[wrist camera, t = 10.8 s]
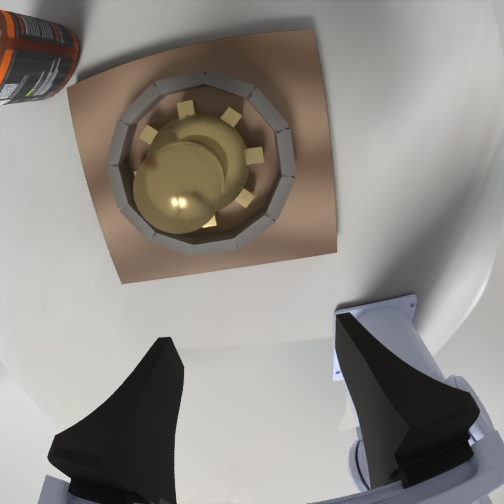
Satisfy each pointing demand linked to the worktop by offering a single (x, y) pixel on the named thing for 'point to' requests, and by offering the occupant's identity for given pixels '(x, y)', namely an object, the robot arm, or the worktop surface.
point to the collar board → (249, 126)
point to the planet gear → (193, 170)
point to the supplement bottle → (34, 58)
